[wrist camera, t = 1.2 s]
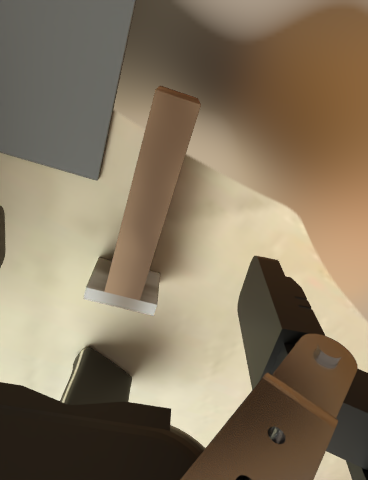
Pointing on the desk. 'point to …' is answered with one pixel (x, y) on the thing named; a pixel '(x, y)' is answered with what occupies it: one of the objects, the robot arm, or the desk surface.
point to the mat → (60, 79)
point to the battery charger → (96, 381)
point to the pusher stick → (146, 207)
